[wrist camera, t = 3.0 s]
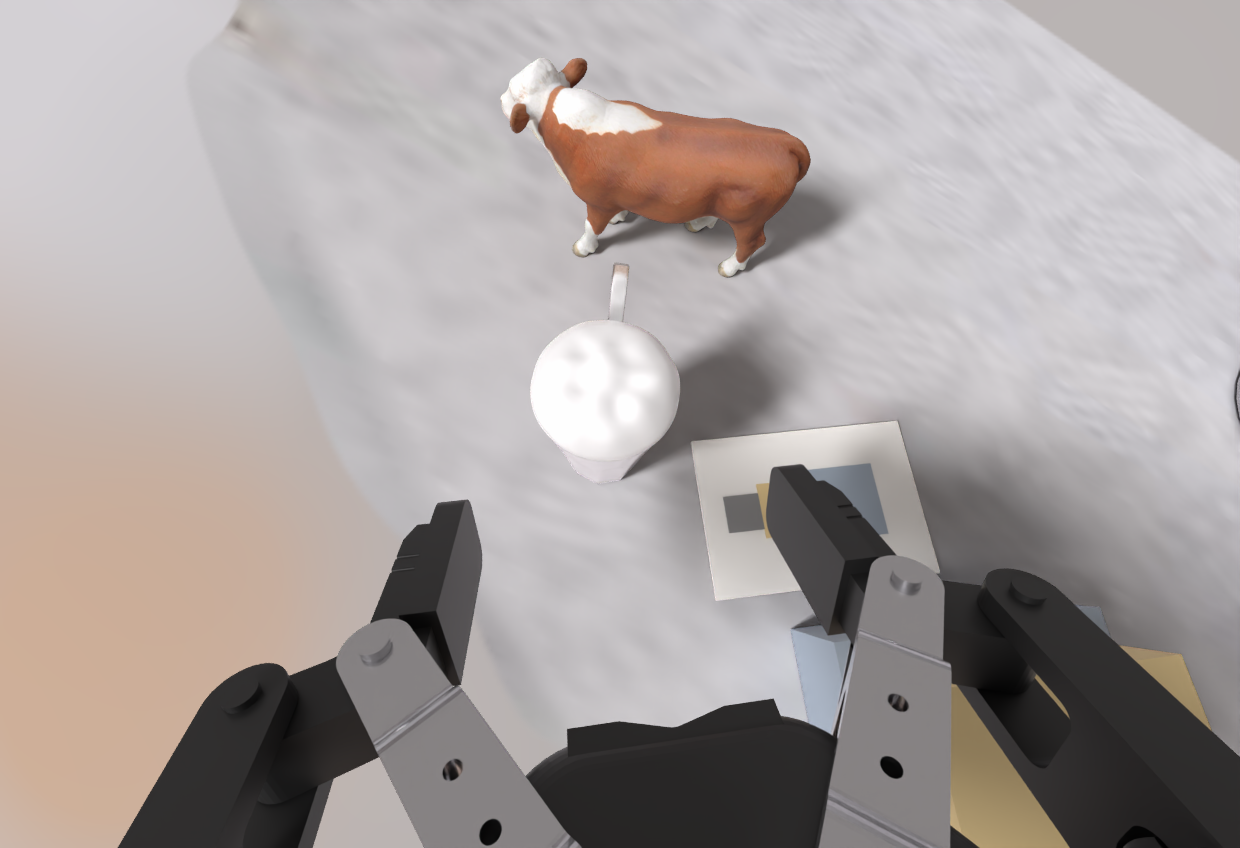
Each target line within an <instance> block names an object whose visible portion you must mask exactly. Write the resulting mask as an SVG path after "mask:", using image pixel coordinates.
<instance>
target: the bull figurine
mask: <svg viewBox="0 0 1240 848" xmlns="http://www.w3.org/2000/svg"><path fill="white" fill-rule="evenodd" d="M586 71H587V62H586V61H585V60H584V59H582V58H576V59H572V60H571V61H570V62H569V63H568V64H567V65H566V67H565V68H564V69H563V70H562V71H561V72H559V73H558V71H557V70H556V68H555V67H554V65H553V64H552V63H551V62H550V61H549V60H547V59H544V58H539V59H537V60H536V61H534V62H532V63H531V64H529V65H527V66H526V67H525V68H524V69H523V70H522V71H521V72H520V73H518V74H517V75H516V76H515V77H514V78H512V79H511V80H510V83H509V88H508V90H507V91H506V92H505V93H504V94H503V95H502V96H501V103H502V110H503V112H504V114H505V115H506V117H507V118H508V119H510V127H511V129H512V131H514V132H515V133H520V132H521V131H522V130H523V129H524V128H525V127H527V128H528V129H530V130H532V132H533V133H534V134H535V136H536V138H537V139H538V140H539V141H540V142H541V143H542V144H543V146H544V147H545V148H546V150H547V151H548V152H549V154H550V155H551V157H552V158H553V161H554V164H555V166H556V169H557V171H558V172H559V174H560V175H561V176H562V178H563V179H564V180H565V181H566V182H567V183H568V185H569V186H570V187H571V188H572V190H573V192H574V193H575V194H576V195H577V196H578V197H579V198H580V199H582V200H583V201H584V202H586V204H587V212H588V217H587V218H586V221H585V229H586V232H585V234H584V235H583V236H582V238H581V239H579V240H578V241H576V242H575V243H574V245H573V248H572V250H573V253H574V254H575V255H577V256H578V257H586V256H587V255H588V253H589V252H591V253H594V252H595V250H596V248H597V247H598V241H597V237H598V235H599V234H601V233H602V232H603V231H604V229H605V228H606V226H607V224H608V223H611V224H616V223H617V221H619V220H620V221H624V220H625V217H626V215H627V214H628V212H629V211H630V212H633V213H635V214H638V215H641V216H643V217H646V218H648V219H652V220H655V221H659V222H663V223H684V222H685V226H686V228H687V229H688V230H689V231H691V232H698V231H699V230H700V229H702V228H703V227H705V226H708V227H709V228H713V227H714V225H715V223H716V221H717V220H718V219H722V220H723V221H725V222H727V223H728V224H729V225H730V226H731V227H732V229H733V231H734V234H735V238H736V241H737V248H736V251H735V253H734V254H733V255H732V256H731V257H730V258H728V259H726V260H725V261H723V262H721V263H720V264H719V266H718V272H719V274H720V275H722V276H724V277H731V276H733V275H734V274H735V273H736V272H737V270H738V269H739V270H744V269H745V267H746V264H747V261H748V260H749V258H750V257H751V256H752V254H753V253H754V252H755V251H756V250H757V249H758V248H760V247H761V246H763V245H764V244H765V242H766V237H765V235H764V231H763V229H764V224H765V222H766V221H767V220H769V219H770V218H771V217H772V216H773V215H775V214H776V213H777V212H778V211H779V210H780V209H781V208H782V207H783V206H784V205H785V204H786V202H787V201H788V200H789V198H790V196H791V195H792V193H793V191H794V189H795V186H796V183H797V182H798V181H800V180H801V179H802V178H803V177H804V176H805V175H806V173H807V171H808V168H809V166H810V161H811V159H810V155H809V152H808V149H807V147H806V146H805V145H804V143H803V142H802V141H801V140H799V139H798V138H796V137H794V136H792V135H790V134H789V133H787V132H785V131H783V130H780V129H775V128H768V127H761V126H756V125H752V124H748V123H745V122H742V121H739V120H736V119H732V118H716V119H707V118H699V117H692V116H687V115H682V114H678V113H673V112H663V111H655V110H652V109H650V108H647V107H645V106H643V105H640V104H638V103H634V102H630V101H609V100H606V99H605V98H603V97H601V96H599V95H597V94H595V93H593V92H591V91H588V90H584V89H578V88H573V87H574V86H575V85H576V84H577V83H578V82H579V81H580V80H581V79H582V78H583V77H584V75H585V73H586Z"/></svg>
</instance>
